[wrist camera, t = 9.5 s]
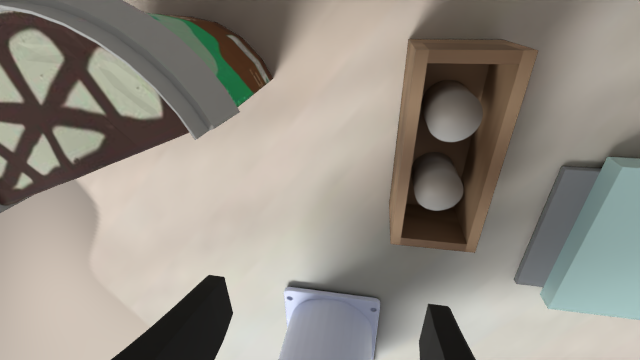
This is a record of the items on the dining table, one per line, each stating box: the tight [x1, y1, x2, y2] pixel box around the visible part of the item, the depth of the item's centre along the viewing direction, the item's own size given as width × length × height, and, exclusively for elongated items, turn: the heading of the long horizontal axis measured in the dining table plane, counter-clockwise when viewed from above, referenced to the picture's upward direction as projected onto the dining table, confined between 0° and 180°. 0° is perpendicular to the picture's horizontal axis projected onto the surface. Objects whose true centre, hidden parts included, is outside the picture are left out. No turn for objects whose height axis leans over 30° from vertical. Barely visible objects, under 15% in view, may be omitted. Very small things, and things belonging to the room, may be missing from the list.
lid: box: [540, 157, 640, 320], centre depth 18 cm, size 11×6×1 cm, turn 1°
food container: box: [0, 0, 273, 213], centre depth 14 cm, size 12×6×10 cm, turn 113°
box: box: [389, 39, 538, 253], centre depth 16 cm, size 10×4×4 cm, turn 1°
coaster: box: [514, 166, 601, 287], centre depth 19 cm, size 9×9×1 cm
